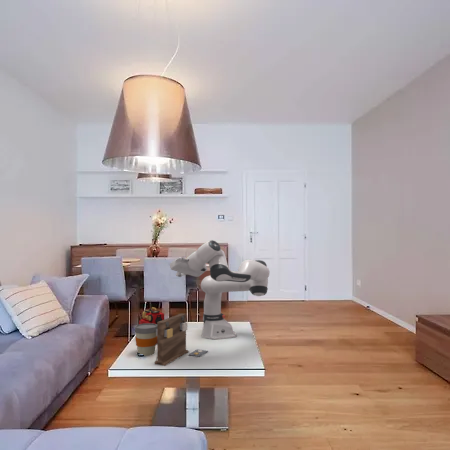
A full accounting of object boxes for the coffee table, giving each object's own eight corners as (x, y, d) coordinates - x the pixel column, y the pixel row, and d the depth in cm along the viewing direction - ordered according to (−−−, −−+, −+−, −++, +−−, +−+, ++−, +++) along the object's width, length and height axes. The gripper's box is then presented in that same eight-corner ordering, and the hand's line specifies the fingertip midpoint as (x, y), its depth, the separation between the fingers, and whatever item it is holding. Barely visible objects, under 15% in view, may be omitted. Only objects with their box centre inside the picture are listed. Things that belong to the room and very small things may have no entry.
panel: (188, 352, 200) (188, 314, 201) (164, 365, 179) (164, 323, 180) (179, 351, 203) (179, 313, 203) (154, 364, 182) (154, 321, 182)
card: (208, 351, 201) (208, 350, 201) (199, 357, 192) (199, 355, 192) (196, 350, 204) (196, 348, 204) (188, 355, 195) (188, 353, 195)
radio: (138, 340, 224) (138, 308, 224) (152, 337, 230) (152, 306, 231) (150, 346, 212) (150, 311, 212) (165, 343, 218) (165, 309, 219)
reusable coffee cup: (143, 348, 207) (143, 322, 207) (162, 351, 202) (162, 324, 203) (129, 355, 195) (130, 327, 196) (149, 358, 191) (149, 329, 191)
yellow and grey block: (172, 336, 185) (172, 328, 185) (168, 338, 181) (168, 330, 181) (160, 334, 188) (160, 327, 188) (155, 336, 184) (155, 328, 184)
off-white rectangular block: (187, 329, 199) (187, 322, 199) (183, 331, 195) (183, 323, 195) (175, 328, 202) (175, 321, 202) (171, 329, 198) (171, 322, 198)
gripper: (181, 262, 183) (164, 276, 189) (209, 270, 197) (192, 284, 203) (179, 252, 187) (162, 266, 192) (206, 261, 201) (190, 274, 206)
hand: (177, 275), depth 198 cm, fingers closed
